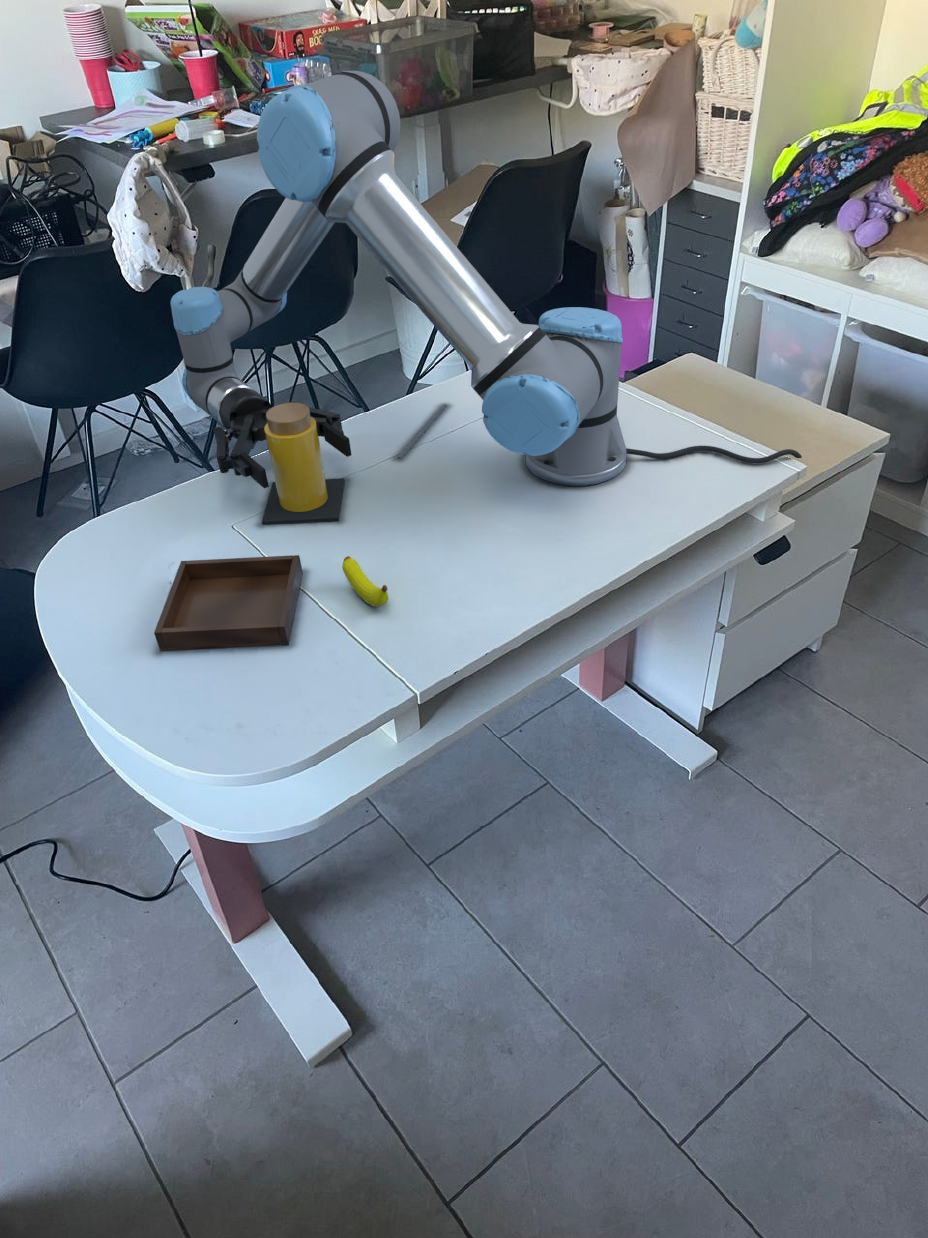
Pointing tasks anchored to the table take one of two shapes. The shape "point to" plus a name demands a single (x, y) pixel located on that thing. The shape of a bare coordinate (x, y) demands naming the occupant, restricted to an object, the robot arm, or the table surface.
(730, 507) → the table surface
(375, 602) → the fruit
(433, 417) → the rod
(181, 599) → the box
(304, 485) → the jar
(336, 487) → the mat
